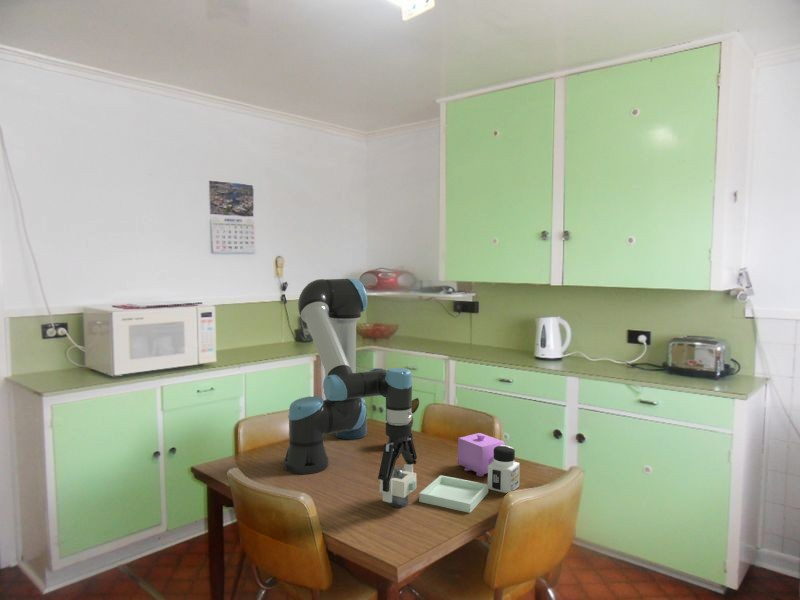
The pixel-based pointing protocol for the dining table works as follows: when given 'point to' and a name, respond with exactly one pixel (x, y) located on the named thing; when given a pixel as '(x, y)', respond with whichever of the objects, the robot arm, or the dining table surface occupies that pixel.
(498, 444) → the teapot
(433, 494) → the tray
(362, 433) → the canister
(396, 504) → the dark grey stemmed piece
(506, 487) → the container
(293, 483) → the dining table surface
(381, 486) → the cream square-holed block
